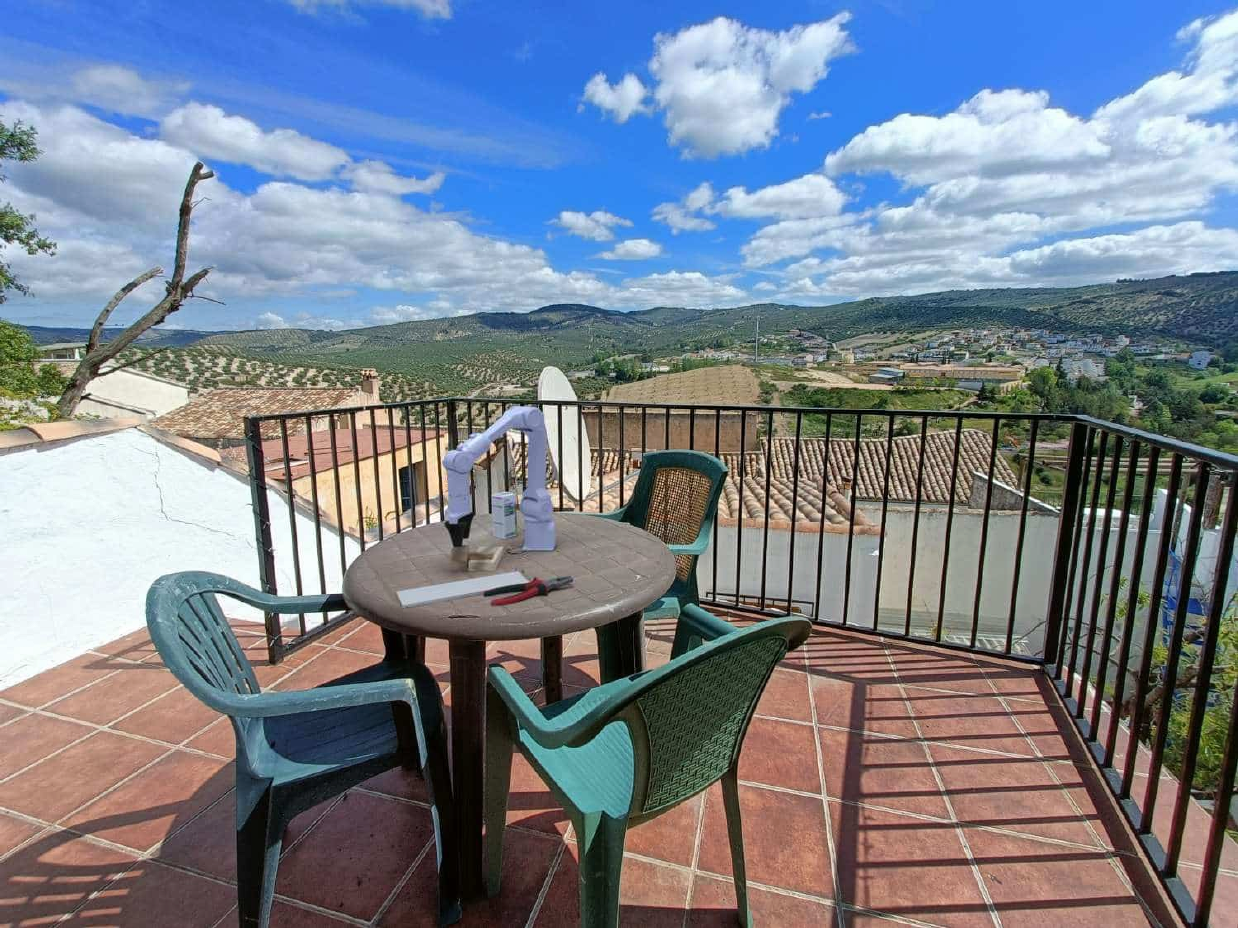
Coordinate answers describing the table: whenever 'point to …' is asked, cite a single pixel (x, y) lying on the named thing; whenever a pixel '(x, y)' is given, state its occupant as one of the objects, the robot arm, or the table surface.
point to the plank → (486, 559)
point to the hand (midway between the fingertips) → (461, 542)
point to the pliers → (531, 587)
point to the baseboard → (458, 589)
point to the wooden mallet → (466, 557)
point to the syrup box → (504, 515)
